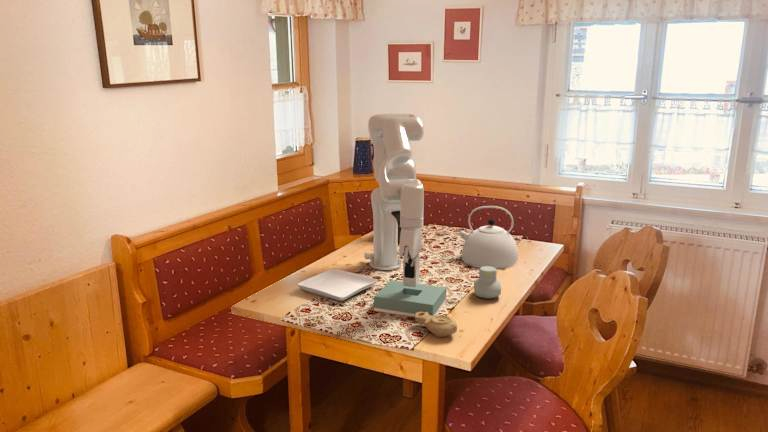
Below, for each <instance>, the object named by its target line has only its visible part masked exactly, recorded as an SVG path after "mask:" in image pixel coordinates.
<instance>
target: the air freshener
mask: <svg viewBox="0 0 768 432" xmlns="http://www.w3.org/2000/svg"><path fill="white" fill-rule="evenodd" d="M497 274H498V273H497V269H496V268H494V267H491V266H483V267H479V271H478V278H476V279H475V280H474V282H473V291H474V295H475V296H477V297H478V298H481V299H494V298H497V297H499V296H500V295H501V294H502V286H501V282H500V280H498V279H497Z"/></svg>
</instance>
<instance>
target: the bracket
mask: <svg viewBox="0 0 768 432" xmlns="http://www.w3.org/2000/svg"><path fill="white" fill-rule="evenodd" d="M409 257H411V256H409ZM402 258H403V259H404V256H403V257H402ZM408 260H410V261H411V259H408ZM402 262H403V261H402ZM402 265H403V267H402V271H403V272H402V282H403V286H410V287H417V286H418V285H419V284H420V255H419V254H418V255H417V256H415V257H414V262H413V266H414V278H406V277H404V270H405V266H404V262H403V264H402Z"/></svg>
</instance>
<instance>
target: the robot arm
mask: <svg viewBox="0 0 768 432" xmlns="http://www.w3.org/2000/svg"><path fill="white" fill-rule="evenodd" d="M367 128H368V129H367V130H368V134H369V137H370V139H371V143H372V146H373V168H374V169H373V170H374V174H373V175H374V178H375V181H376V182H377V183H378V184H379V185H378V186H379V187H377V188H375V189H373V190H372V191H371V194H370V202H371V203H370V204H371V209H372V216H373V217H372V219H373V220H372V221H373V225H372V226H373V227H372V228H373V235H372V237H373V252H372V253H370V252H366V251H365V252H364V255H363V256H364V259H366V260H370V261H369V266H370V267H371V268H372V269H375V270H379V271H393V270H397V269H399V268H401V266H402V262H404V266H405V270H404V277H406V278H414V266H413V262H414V257H415V256H417V255H418V256H419V254H420V252H422V243H423V242H422V240H423V238H422V237H423V235H422V229H423V227H424V213H425V212H424V211H425V209H424V207H425V205H424V203H425V202H424V201H425V200H424V199H425V188H424V185H423V183H422V181H421V180H420V179H418V178H417V168H416V163H415V162H414V160H413V159H411V158H412V157H413V156H412V154H413V153H412V151H413V150H412V147H411V145H410V144H411V143H410V142H411V141H412V142H416V141H417V142H418V141H421V140H422V139H423V137H424V133H425V132H424V131H425V129H424V123H423V121H422V120H421V118H420V117H419V116H418V115H415V114H413V113H380V114H373V115H371V116H370V117H369V119H368V121H367ZM393 211H400V227H401V234H400V241H398V223H397V220H396V218H395V217H394V216H393V215H392V214H391V212H393ZM398 242H399V247H398ZM398 249H399V250H398ZM398 251H399V252H398ZM398 256H399V258H403V257H404V259H403V260H402V261H401V260H400V259H398ZM409 256H411V257H409ZM408 259H411V261H410V260H408Z"/></svg>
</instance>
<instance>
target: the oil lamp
mask: <svg viewBox="0 0 768 432" xmlns="http://www.w3.org/2000/svg"><path fill="white" fill-rule="evenodd" d="M414 319H415V321H416V323H418V324H420V325H422V326H423V325H424V327H425V328H426V329H427V330H428V331H430V332H431V333H432V334H433V335H434V336H435V337H439V338H446V337H449V336H450V335H451V336H452V334H455V333H456V332H457V331H458V325H457V323H456V321H455V320H454V319H452V318H451V317H450V316H447V315H443V314H442V315H439V314H438V315H436V316H431V315H429V314H428V312H417V313H416V314H415V317H414Z"/></svg>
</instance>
